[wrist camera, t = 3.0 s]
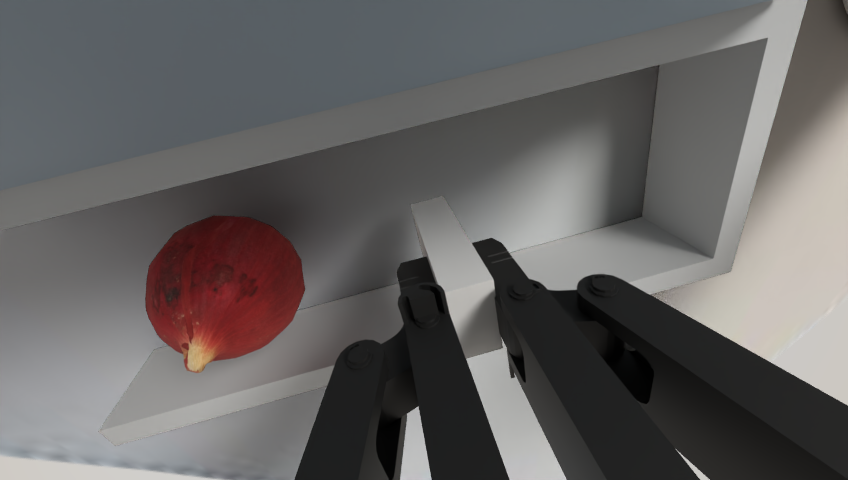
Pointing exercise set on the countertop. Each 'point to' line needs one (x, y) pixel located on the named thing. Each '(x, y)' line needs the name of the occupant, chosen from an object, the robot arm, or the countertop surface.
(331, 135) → the grey tray
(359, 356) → the robot arm
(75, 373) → the countertop surface
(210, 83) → the cover
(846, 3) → the water bottle
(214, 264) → the onion
